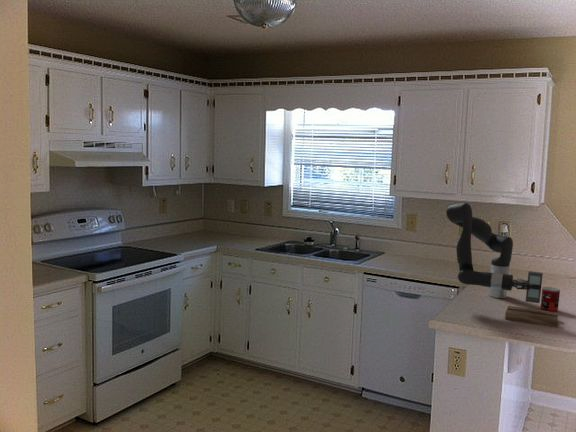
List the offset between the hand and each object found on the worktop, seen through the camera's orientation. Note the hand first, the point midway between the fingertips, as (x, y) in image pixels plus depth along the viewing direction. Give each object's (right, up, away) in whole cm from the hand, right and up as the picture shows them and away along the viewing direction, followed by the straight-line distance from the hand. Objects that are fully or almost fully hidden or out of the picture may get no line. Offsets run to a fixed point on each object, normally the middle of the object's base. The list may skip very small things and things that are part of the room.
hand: (540, 286), depth 266 cm
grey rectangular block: (-3, -7, +2) cm, 8 cm away
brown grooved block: (-3, -16, +3) cm, 16 cm away
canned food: (+14, -15, +22) cm, 30 cm away
